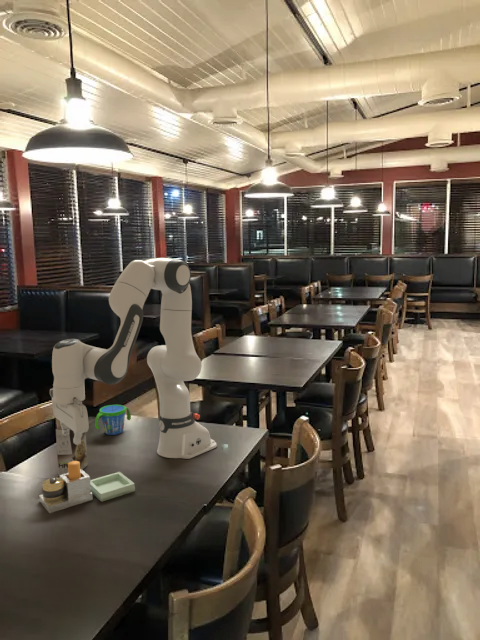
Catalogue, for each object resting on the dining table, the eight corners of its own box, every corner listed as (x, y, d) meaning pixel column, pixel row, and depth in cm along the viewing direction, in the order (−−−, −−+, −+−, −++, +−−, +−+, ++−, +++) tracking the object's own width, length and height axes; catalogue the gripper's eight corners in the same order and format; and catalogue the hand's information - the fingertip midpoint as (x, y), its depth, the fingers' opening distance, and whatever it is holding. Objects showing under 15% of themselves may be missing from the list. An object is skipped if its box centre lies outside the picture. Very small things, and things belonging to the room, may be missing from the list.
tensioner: (81, 488, 168) (80, 464, 167) (92, 499, 161) (91, 474, 160) (39, 501, 161) (37, 476, 159) (48, 513, 153) (46, 487, 152)
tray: (119, 478, 175) (119, 471, 175) (134, 491, 166) (134, 483, 166) (87, 488, 169) (87, 481, 168) (101, 501, 160) (101, 494, 159)
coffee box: (75, 476, 177) (72, 430, 175) (57, 475, 179) (54, 428, 176) (88, 465, 186) (85, 420, 184) (71, 463, 187) (68, 419, 185)
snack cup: (101, 440, 209) (100, 415, 207) (90, 433, 217) (88, 409, 215) (137, 431, 218) (136, 407, 217) (125, 424, 227) (124, 401, 225)
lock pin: (79, 487, 165) (77, 460, 164) (83, 491, 162) (81, 463, 161) (67, 490, 163) (66, 463, 161) (72, 495, 160) (70, 466, 159)
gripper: (93, 400, 152) (95, 447, 153) (68, 385, 168) (70, 427, 170) (71, 404, 148) (73, 452, 150) (47, 388, 164) (50, 432, 166)
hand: (71, 439), depth 160 cm, fingers open, 8 cm apart
